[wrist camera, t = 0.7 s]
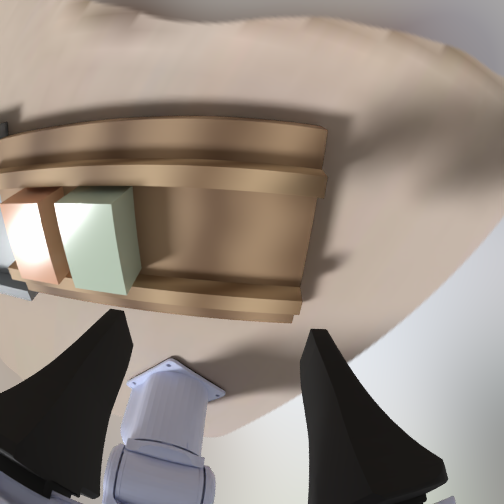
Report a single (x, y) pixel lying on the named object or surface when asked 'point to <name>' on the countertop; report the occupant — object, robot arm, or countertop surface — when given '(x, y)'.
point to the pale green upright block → (100, 237)
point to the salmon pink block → (36, 233)
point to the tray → (10, 256)
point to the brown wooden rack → (190, 206)
